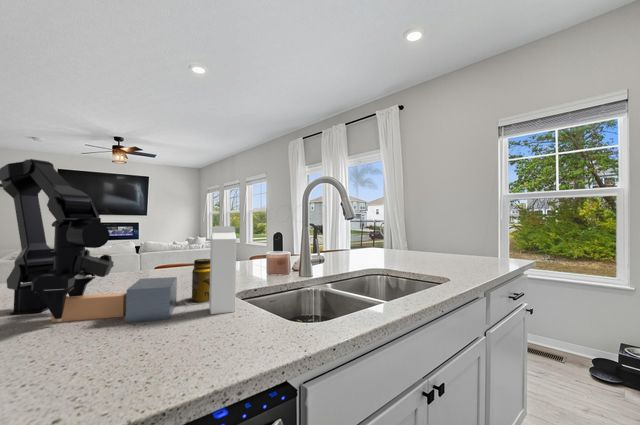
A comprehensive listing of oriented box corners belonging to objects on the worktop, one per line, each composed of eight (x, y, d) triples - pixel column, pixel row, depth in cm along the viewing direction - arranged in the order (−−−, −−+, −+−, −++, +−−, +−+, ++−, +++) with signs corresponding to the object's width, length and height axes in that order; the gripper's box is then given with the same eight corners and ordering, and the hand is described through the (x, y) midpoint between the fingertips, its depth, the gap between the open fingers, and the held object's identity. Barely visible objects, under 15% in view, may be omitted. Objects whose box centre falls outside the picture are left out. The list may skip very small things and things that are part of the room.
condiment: (217, 301, 88) (218, 260, 89) (186, 305, 84) (187, 262, 84) (211, 296, 94) (212, 257, 95) (181, 300, 90) (182, 259, 90)
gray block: (122, 323, 69) (123, 289, 69) (137, 306, 82) (138, 278, 82) (169, 319, 72) (170, 287, 72) (176, 303, 85) (176, 277, 86)
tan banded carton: (51, 322, 69) (52, 299, 69) (57, 318, 72) (58, 296, 72) (122, 316, 74) (123, 295, 74) (126, 312, 77) (126, 292, 77)
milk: (235, 312, 78) (237, 226, 79) (210, 314, 76) (212, 226, 76) (232, 305, 84) (233, 226, 84) (208, 308, 81) (210, 225, 82)
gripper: (95, 248, 66) (93, 321, 65) (121, 243, 83) (119, 300, 83) (31, 250, 62) (28, 327, 61) (71, 243, 80) (69, 303, 79)
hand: (67, 312), depth 71 cm, fingers open, 9 cm apart
